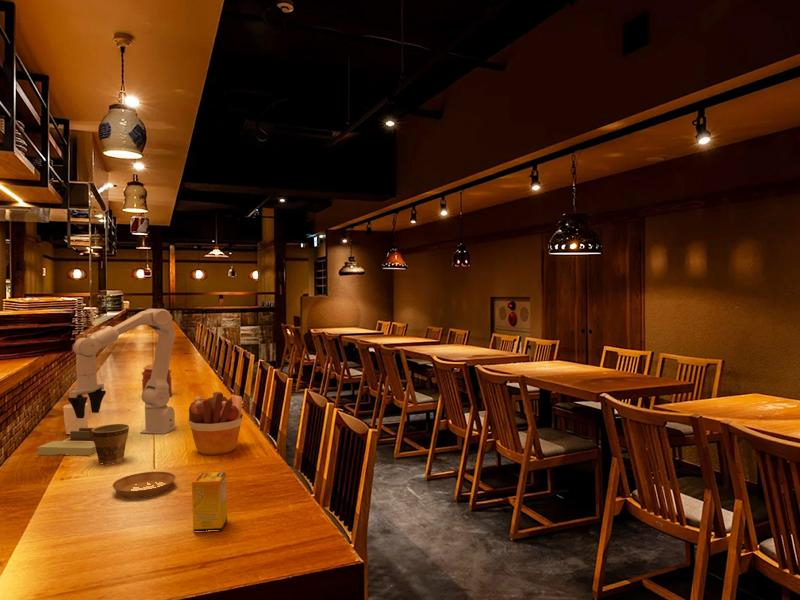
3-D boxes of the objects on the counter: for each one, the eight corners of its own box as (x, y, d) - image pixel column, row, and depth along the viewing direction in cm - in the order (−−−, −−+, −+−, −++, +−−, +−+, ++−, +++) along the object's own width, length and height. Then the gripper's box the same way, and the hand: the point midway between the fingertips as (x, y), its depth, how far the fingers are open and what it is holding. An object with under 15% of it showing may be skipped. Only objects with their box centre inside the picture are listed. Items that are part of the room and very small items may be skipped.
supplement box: (200, 521, 124) (198, 472, 124) (227, 520, 125) (226, 471, 125) (192, 533, 118) (191, 481, 118) (221, 532, 119) (220, 480, 119)
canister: (165, 399, 260) (164, 361, 260) (137, 400, 261) (136, 361, 260) (176, 394, 273) (175, 357, 273) (150, 394, 274) (148, 358, 273)
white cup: (78, 436, 198) (77, 407, 198) (58, 435, 200) (57, 407, 199) (94, 430, 206) (93, 403, 206) (75, 429, 207) (74, 402, 207)
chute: (103, 444, 188) (102, 428, 188) (93, 448, 183) (92, 431, 183) (81, 443, 189) (80, 427, 189) (70, 448, 184) (70, 431, 184)
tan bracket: (117, 444, 187) (117, 436, 187) (91, 456, 174) (91, 447, 174) (67, 443, 189) (66, 435, 189) (37, 454, 176) (37, 446, 176)
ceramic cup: (137, 457, 172) (136, 425, 172) (110, 467, 162) (109, 433, 162) (104, 454, 176) (103, 422, 176) (76, 463, 167) (75, 430, 166)
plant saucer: (131, 480, 152) (131, 470, 152) (185, 480, 152) (185, 471, 152) (100, 501, 138) (100, 490, 137) (159, 501, 137) (159, 491, 137)
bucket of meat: (188, 445, 184) (186, 385, 183) (240, 439, 190) (239, 380, 190) (191, 463, 166) (189, 395, 165) (248, 456, 172) (247, 391, 171)
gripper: (89, 370, 194) (91, 410, 194) (59, 378, 179) (61, 420, 180) (109, 370, 193) (110, 410, 193) (80, 378, 178) (81, 420, 179)
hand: (88, 415), depth 186 cm, fingers open, 7 cm apart
